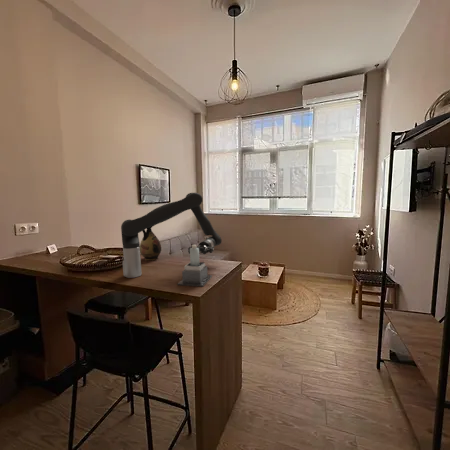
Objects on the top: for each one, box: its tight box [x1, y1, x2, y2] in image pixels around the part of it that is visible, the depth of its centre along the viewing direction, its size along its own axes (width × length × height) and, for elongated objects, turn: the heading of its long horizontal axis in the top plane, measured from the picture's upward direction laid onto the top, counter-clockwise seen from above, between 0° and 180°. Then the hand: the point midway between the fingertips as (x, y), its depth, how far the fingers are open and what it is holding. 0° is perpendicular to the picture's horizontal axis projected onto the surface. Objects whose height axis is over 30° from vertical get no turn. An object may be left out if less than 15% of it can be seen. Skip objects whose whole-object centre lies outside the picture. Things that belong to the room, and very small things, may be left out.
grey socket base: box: [177, 261, 213, 288], centre depth 136 cm, size 14×16×9 cm
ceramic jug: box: [139, 225, 162, 261], centre depth 183 cm, size 17×15×30 cm
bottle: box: [189, 244, 201, 266], centre depth 135 cm, size 5×5×13 cm
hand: (196, 252), depth 138 cm, fingers open, 8 cm apart
